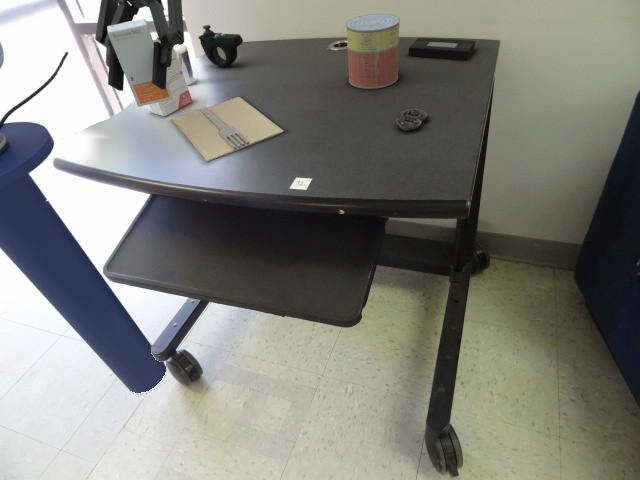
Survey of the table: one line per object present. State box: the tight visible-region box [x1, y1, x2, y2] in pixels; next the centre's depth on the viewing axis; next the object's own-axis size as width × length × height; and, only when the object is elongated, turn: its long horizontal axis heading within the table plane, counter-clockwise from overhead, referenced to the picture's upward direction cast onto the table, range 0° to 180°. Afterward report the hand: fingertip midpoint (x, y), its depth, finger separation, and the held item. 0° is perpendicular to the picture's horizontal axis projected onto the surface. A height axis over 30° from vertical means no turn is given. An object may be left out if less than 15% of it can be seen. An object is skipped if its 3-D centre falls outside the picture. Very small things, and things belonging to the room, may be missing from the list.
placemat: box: [171, 96, 285, 162], centre depth 82 cm, size 22×16×1 cm
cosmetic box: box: [107, 18, 172, 108], centre depth 66 cm, size 6×4×12 cm
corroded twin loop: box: [395, 107, 428, 132], centre depth 75 cm, size 5×8×1 cm, turn 152°
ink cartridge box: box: [148, 38, 193, 117], centre depth 87 cm, size 9×5×15 cm, turn 143°
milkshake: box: [173, 44, 196, 86], centre depth 99 cm, size 4×5×10 cm
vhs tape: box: [408, 37, 476, 61], centre depth 99 cm, size 8×14×2 cm, turn 61°
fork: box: [199, 106, 249, 150], centre depth 81 cm, size 21×3×1 cm, turn 32°
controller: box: [197, 24, 244, 68], centre depth 105 cm, size 4×12×10 cm, turn 66°
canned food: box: [345, 13, 401, 90], centre depth 88 cm, size 11×11×12 cm
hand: (137, 86), depth 65 cm, fingers closed on cosmetic box, 7 cm apart
